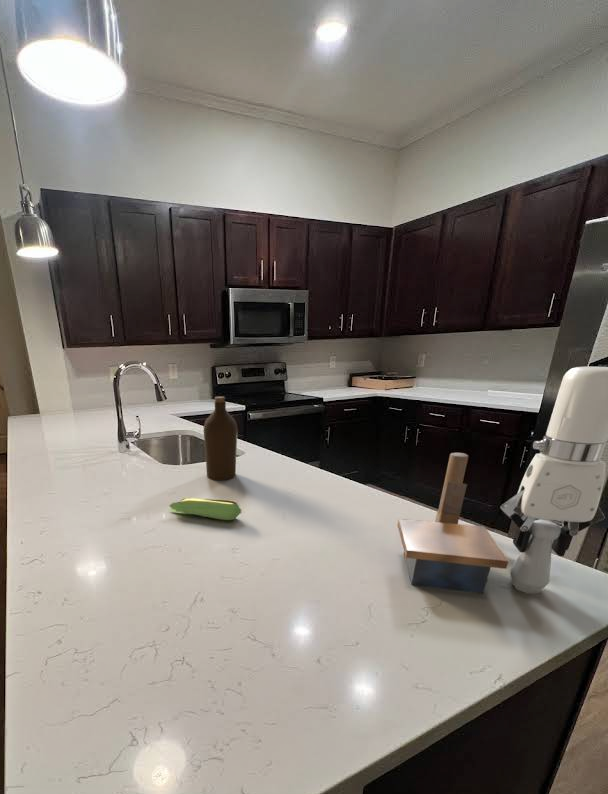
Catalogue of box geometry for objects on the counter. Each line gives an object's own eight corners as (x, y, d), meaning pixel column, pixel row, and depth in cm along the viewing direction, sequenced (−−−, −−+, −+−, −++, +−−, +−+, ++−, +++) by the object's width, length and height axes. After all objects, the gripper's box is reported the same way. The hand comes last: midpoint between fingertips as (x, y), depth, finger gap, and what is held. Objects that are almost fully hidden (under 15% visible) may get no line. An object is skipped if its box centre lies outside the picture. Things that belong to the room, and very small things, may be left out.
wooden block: (434, 542, 93) (451, 464, 85) (434, 523, 102) (449, 451, 94) (453, 545, 91) (471, 466, 84) (451, 525, 100) (468, 452, 93)
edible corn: (238, 524, 102) (238, 507, 100) (164, 514, 108) (163, 498, 106) (244, 516, 107) (244, 500, 105) (173, 507, 113) (171, 491, 111)
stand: (475, 559, 86) (484, 526, 83) (497, 598, 73) (508, 561, 70) (392, 550, 90) (398, 518, 87) (400, 586, 77) (407, 550, 74)
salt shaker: (526, 577, 79) (547, 514, 74) (553, 594, 74) (577, 528, 69) (499, 580, 78) (518, 517, 73) (524, 598, 73) (546, 531, 68)
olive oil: (212, 482, 130) (210, 400, 120) (200, 473, 139) (197, 396, 129) (243, 477, 134) (243, 398, 124) (229, 468, 143) (228, 393, 133)
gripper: (518, 452, 65) (490, 555, 72) (652, 459, 61) (607, 567, 68) (502, 441, 71) (477, 536, 79) (621, 446, 67) (584, 546, 74)
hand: (538, 549), depth 73 cm, fingers open, 5 cm apart
